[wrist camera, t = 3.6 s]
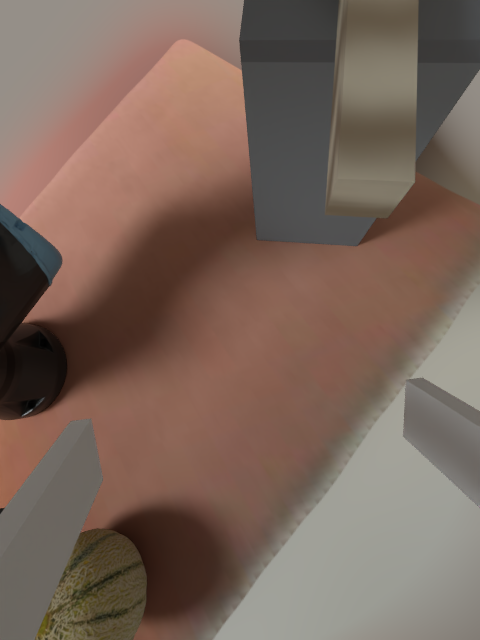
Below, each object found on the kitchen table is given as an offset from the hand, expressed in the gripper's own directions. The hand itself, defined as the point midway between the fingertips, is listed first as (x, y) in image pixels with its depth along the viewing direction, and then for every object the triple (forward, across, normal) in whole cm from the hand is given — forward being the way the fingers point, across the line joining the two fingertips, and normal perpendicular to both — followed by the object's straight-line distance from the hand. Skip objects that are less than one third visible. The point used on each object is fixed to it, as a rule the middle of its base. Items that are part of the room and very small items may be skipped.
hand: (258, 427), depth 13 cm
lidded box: (+42, +16, +12) cm, 47 cm away
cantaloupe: (+28, -19, -36) cm, 49 cm away
